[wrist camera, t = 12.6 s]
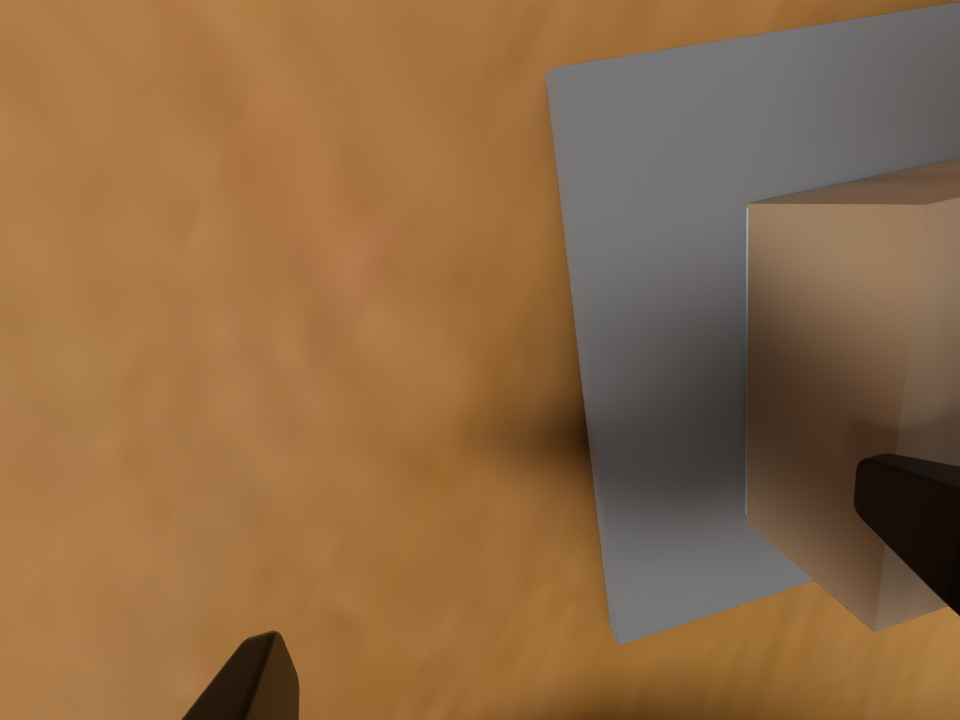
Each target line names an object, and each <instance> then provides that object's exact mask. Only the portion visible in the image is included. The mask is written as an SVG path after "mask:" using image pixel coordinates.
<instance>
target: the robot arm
mask: <svg viewBox="0 0 960 720" xmlns="http://www.w3.org/2000/svg"><path fill="white" fill-rule="evenodd" d="M853 504H854V508H855V510H856V513H857V514H858V516H859V517H860V518H861V519H862V521H863V522H864V523H865V524H866V525H867V526H868V527H869V528H870V529H871V530H872V531H873V532H874V533H875V534H876V535H877V536H878V537H879V538H880V539H881V540H882V541H883V542H884V543H885V544H886V545H887V546H888V547H889V548H890V549H891V550H892V551H893V552H894V553H895V554H896V555H897V556H898V557H899V558H900V559H901V560H902V561H903V562H904V563H905V564H906V565H907V566H908V567H909V568H910V569H911V570H912V571H913V572H914V573H915V574H916V575H917V576H918V577H919V578H920V579H921V580H922V581H923V582H924V583H925V584H926V585H927V586H928V587H929V588H930V589H931V590H932V591H933V592H934V593H935V594H936V595H937V596H938V597H939V598H940V599H941V600H943V601H944V602H945V603H946V604H947V605H948V606H949V607H950V608H951V609H952V610H953V611H955V612H956V613H957V614H958V615H959V616H960V466H955V465H950V464H944V463H939V462H934V461H929V460H923V459H918V458H913V457H908V456H902V455H897V454H892V453H882V454H878V455H875V456H871V457H868V458H864V459H862V460H861V461H860V462H859V463H858V465H857V469H856V478H855V488H854V498H853ZM182 720H299V681H298V676H297V672H296V670H295V667H294V665H293V662H292V660H291V657H290V655H289V652H288V650H287V647H286V645H285V642H284V640H283V638H282V636H281V634H280V633H279V632H277V631H270V632H266V633H263V634H260V635H256V636H253V637H250V638H248V639H246V640H245V641H243V642H242V643H241V645H240V646H239V647H238V648H237V650H236V651H235V652H234V653H233V655H232V656H231V657H230V658H229V660H228V661H227V662H226V664H225V665H224V666H223V667H222V669H221V670H220V671H219V672H218V674H217V675H216V676H215V678H214V679H213V680H212V681H211V683H210V684H209V685H208V686H207V688H206V689H205V690H204V692H203V693H202V694H201V695H200V697H199V698H198V699H197V700H196V702H195V703H194V704H193V706H192V707H191V708H190V709H189V711H188V712H187V713H186V714H185V716H184V717H183V718H182Z"/></svg>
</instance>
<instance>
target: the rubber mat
mask: <svg viewBox="0 0 960 720" xmlns="http://www.w3.org/2000/svg"><path fill="white" fill-rule="evenodd" d="M545 75H546V83H547V92H548V100H549V109H550V117H551V126H552V134H553V143H554V151H555V160H556V168H557V177H558V186H559V194H560V203H561V211H562V220H563V228H564V237H565V245H566V254H567V262H568V271H569V279H570V288H571V296H572V305H573V313H574V322H575V330H576V339H577V347H578V356H579V364H580V373H581V382H582V390H583V399H584V407H585V416H586V424H587V433H588V441H589V450H590V458H591V467H592V475H593V484H594V492H595V501H596V509H597V518H598V526H599V535H600V543H601V552H602V560H603V569H604V577H605V586H606V595H607V603H608V612H609V620H610V629H611V632H612V634H613V635H614V637H615V639H616V641H617V643H618V644H619V645H621V644H624V643H627V642H630V641H633V640H636V639H639V638H642V637H645V636H648V635H651V634H654V633H657V632H660V631H663V630H666V629H669V628H672V627H675V626H678V625H681V624H684V623H687V622H690V621H693V620H696V619H699V618H702V617H705V616H708V615H711V614H714V613H718V612H721V611H724V610H727V609H730V608H733V607H736V606H739V605H742V604H745V603H748V602H751V601H754V600H757V599H760V598H763V597H766V596H769V595H772V594H775V593H778V592H781V591H784V590H787V589H790V588H793V587H796V586H799V585H802V584H805V583H808V582H811V581H814V580H813V579H812V578H811V577H809V576H808V575H807V574H806V573H805V572H804V571H802V570H801V569H800V568H799V567H798V566H797V565H796V564H794V563H793V562H792V561H791V560H790V559H789V558H787V557H786V556H785V555H784V554H783V553H782V552H780V551H779V550H778V549H777V548H776V547H775V546H773V545H772V544H771V543H770V542H769V541H768V540H767V539H765V538H764V537H763V536H762V535H761V534H760V533H758V532H757V531H756V530H755V529H754V528H753V527H751V526H750V525H749V524H748V523H747V522H746V520H747V515H746V514H745V479H746V247H747V207H748V204H749V203H754V202H758V201H763V200H768V199H772V198H777V197H782V196H786V195H791V194H796V193H801V192H805V191H810V190H815V189H819V188H824V187H829V186H833V185H838V184H843V183H847V182H852V181H857V180H861V179H866V178H871V177H876V176H880V175H885V174H890V173H894V172H899V171H904V170H908V169H913V168H918V167H922V166H927V165H932V164H937V163H941V162H946V161H951V160H955V159H960V2H957V3H950V4H944V5H938V6H932V7H926V8H920V9H913V10H907V11H901V12H895V13H889V14H882V15H876V16H870V17H864V18H858V19H852V20H845V21H839V22H833V23H827V24H821V25H814V26H808V27H802V28H796V29H790V30H784V31H777V32H771V33H765V34H759V35H753V36H746V37H740V38H734V39H728V40H722V41H716V42H709V43H703V44H697V45H691V46H685V47H678V48H672V49H666V50H660V51H654V52H648V53H641V54H635V55H629V56H623V57H617V58H610V59H604V60H598V61H592V62H586V63H580V64H573V65H567V66H561V67H555V68H553V69H552V70H551V71H549V72H548V73H547V74H545Z"/></svg>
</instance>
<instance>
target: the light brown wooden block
mask: <svg viewBox="0 0 960 720" xmlns="http://www.w3.org/2000/svg"><path fill="white" fill-rule="evenodd" d="M882 453H892V454H897V455H902V456H908V457H913V458H918V459H923V460H929V461H934V462H939V463H944V464H950V465H955V466H960V159H955V160H951V161H946V162H941V163H937V164H932V165H927V166H922V167H918V168H913V169H908V170H904V171H899V172H894V173H890V174H885V175H880V176H876V177H871V178H866V179H861V180H857V181H852V182H847V183H843V184H838V185H833V186H829V187H824V188H819V189H815V190H810V191H805V192H801V193H796V194H791V195H786V196H782V197H777V198H772V199H768V200H763V201H758V202H754V203H749V204H748V207H747V247H746V479H745V514H746V515H747V520H746V522H747V523H748V524H749V525H750V526H751V527H753V528H754V529H755V530H756V531H757V532H758V533H760V534H761V535H762V536H763V537H764V538H765V539H767V540H768V541H769V542H770V543H771V544H772V545H773V546H775V547H776V548H777V549H778V550H779V551H780V552H782V553H783V554H784V555H785V556H786V557H787V558H789V559H790V560H791V561H792V562H793V563H794V564H796V565H797V566H798V567H799V568H800V569H801V570H802V571H804V572H805V573H806V574H807V575H808V576H809V577H811V578H812V579H813V580H814V581H815V582H816V583H818V584H819V585H820V586H821V587H822V588H823V589H825V590H826V591H827V592H828V593H829V594H830V595H831V596H833V597H834V598H835V599H836V600H837V601H838V602H840V603H841V604H842V605H843V606H844V607H845V608H847V609H848V610H849V611H850V612H851V613H852V614H854V615H855V616H856V617H857V618H858V619H859V620H860V621H862V622H863V623H864V624H865V625H866V626H867V627H869V628H870V629H871V630H872V631H873V632H877V631H879V630H882V629H885V628H888V627H891V626H893V625H896V624H899V623H902V622H905V621H908V620H910V619H913V618H916V617H919V616H922V615H924V614H927V613H930V612H933V611H936V610H938V609H941V608H944V607H947V606H948V605H947V604H946V603H945V602H944V601H943V600H941V599H940V598H939V597H938V596H937V595H936V594H935V593H934V592H933V591H932V590H931V589H930V588H929V587H928V586H927V585H926V584H925V583H924V582H923V581H922V580H921V579H920V578H919V577H918V576H917V575H916V574H915V573H914V572H913V571H912V570H911V569H910V568H909V567H908V566H907V565H906V564H905V563H904V562H903V561H902V560H901V559H900V558H899V557H898V556H897V555H896V554H895V553H894V552H893V551H892V550H891V549H890V548H889V547H888V546H887V545H886V544H885V543H884V542H883V541H882V540H881V539H880V538H879V537H878V536H877V535H876V534H875V533H874V532H873V531H872V530H871V529H870V528H869V527H868V526H867V525H866V524H865V523H864V522H863V521H862V519H861V518H860V517H859V516H858V514H857V513H856V510H855V508H854V504H853V498H854V488H855V478H856V469H857V465H858V463H859V462H860V461H861V460H862V459H864V458H868V457H871V456H875V455H878V454H882Z"/></svg>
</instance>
